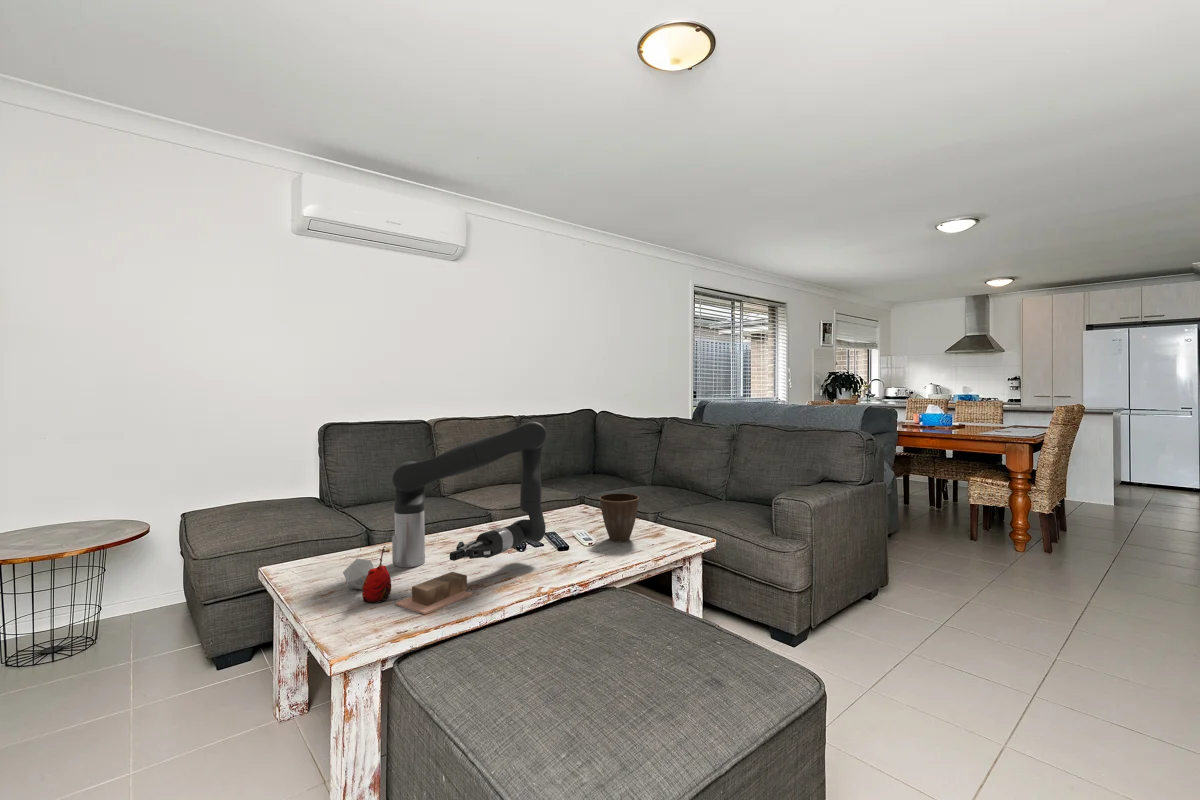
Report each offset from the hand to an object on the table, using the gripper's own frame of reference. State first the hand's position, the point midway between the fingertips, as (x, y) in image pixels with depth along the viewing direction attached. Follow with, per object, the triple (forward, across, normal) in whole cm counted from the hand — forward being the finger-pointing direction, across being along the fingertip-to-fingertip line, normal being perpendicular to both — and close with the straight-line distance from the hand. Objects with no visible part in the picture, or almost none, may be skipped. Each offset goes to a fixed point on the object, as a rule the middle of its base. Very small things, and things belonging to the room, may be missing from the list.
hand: (451, 556), depth 155 cm
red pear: (+14, -13, +10) cm, 22 cm away
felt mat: (+6, 0, +10) cm, 12 cm away
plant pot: (-71, +12, +10) cm, 73 cm away
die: (+12, -26, +10) cm, 30 cm away
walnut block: (-3, 0, +8) cm, 8 cm away
